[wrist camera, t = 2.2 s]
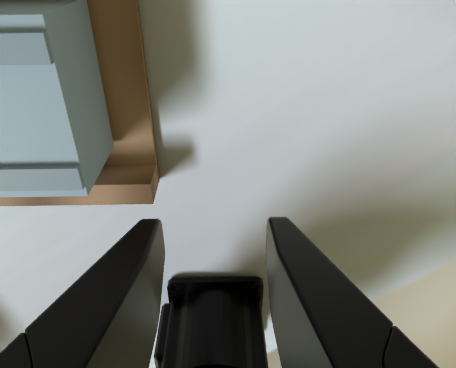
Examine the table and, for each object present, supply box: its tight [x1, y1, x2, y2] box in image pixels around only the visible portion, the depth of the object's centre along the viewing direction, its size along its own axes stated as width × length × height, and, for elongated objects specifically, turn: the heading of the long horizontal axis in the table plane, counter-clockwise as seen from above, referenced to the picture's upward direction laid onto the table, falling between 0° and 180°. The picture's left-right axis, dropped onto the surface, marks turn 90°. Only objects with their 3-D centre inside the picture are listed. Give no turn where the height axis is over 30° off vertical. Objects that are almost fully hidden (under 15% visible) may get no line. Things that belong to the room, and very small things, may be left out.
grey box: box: [0, 0, 114, 197], centre depth 16 cm, size 7×7×5 cm
